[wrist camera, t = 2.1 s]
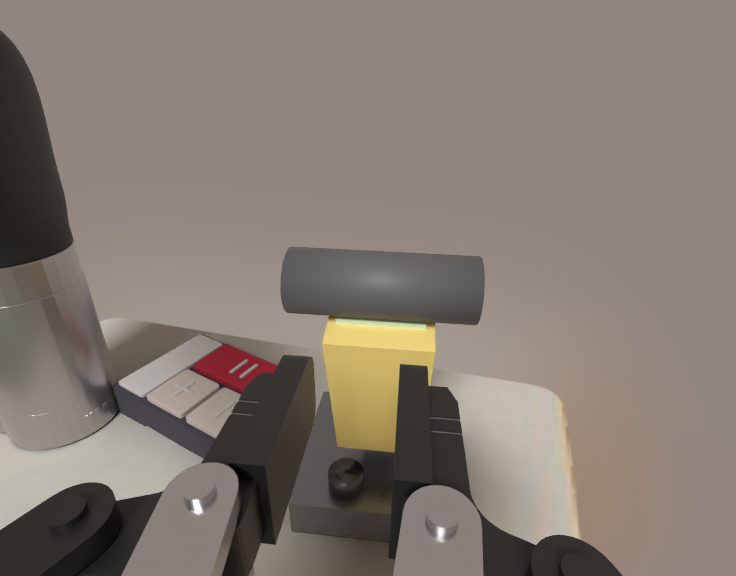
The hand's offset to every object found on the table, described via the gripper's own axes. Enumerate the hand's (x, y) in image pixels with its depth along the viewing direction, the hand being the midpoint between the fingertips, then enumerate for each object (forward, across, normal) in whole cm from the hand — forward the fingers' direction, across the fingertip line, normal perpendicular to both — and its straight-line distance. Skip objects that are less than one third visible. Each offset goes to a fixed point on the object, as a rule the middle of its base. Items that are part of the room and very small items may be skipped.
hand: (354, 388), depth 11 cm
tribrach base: (+16, 0, +22) cm, 27 cm away
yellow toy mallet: (+16, 0, +18) cm, 24 cm away
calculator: (+22, +18, +23) cm, 36 cm away
